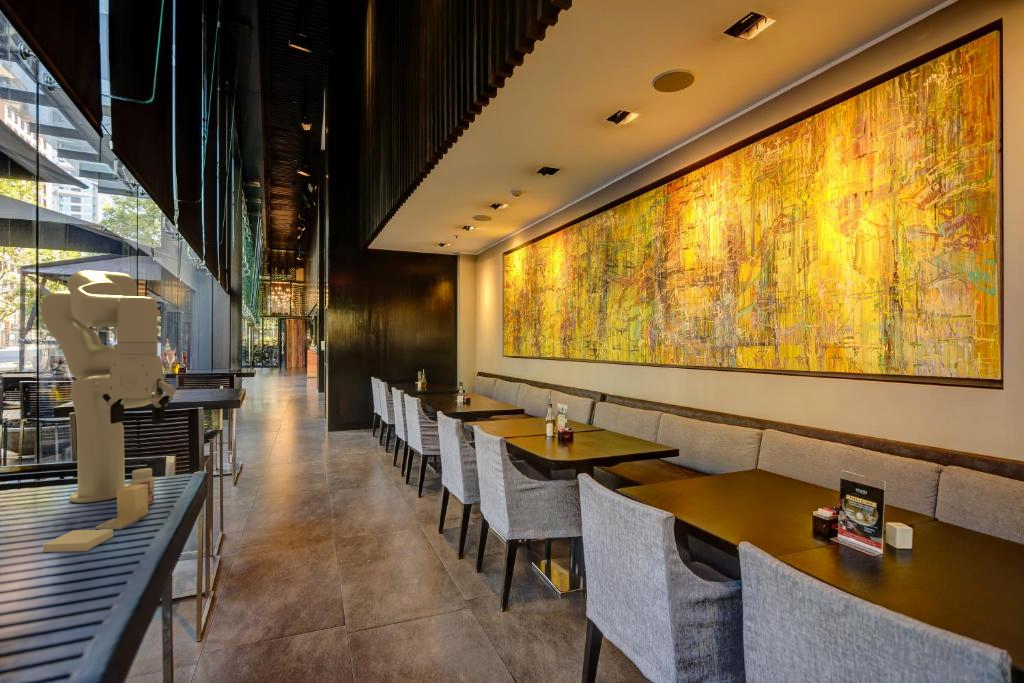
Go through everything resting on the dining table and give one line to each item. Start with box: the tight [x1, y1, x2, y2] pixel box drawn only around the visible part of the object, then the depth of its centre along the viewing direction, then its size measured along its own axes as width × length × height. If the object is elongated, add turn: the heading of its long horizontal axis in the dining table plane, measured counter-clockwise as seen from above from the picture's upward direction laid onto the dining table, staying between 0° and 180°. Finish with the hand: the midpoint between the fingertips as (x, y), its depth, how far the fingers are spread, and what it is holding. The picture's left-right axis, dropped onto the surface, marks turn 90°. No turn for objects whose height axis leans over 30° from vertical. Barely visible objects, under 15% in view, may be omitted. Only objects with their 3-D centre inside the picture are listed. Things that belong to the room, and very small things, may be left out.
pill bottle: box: [129, 467, 155, 506], centre depth 124 cm, size 5×5×8 cm
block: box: [42, 529, 114, 553], centre depth 100 cm, size 2×8×7 cm
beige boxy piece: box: [94, 483, 149, 530], centre depth 112 cm, size 9×6×7 cm, turn 0°
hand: (137, 423), depth 117 cm, fingers open, 9 cm apart
